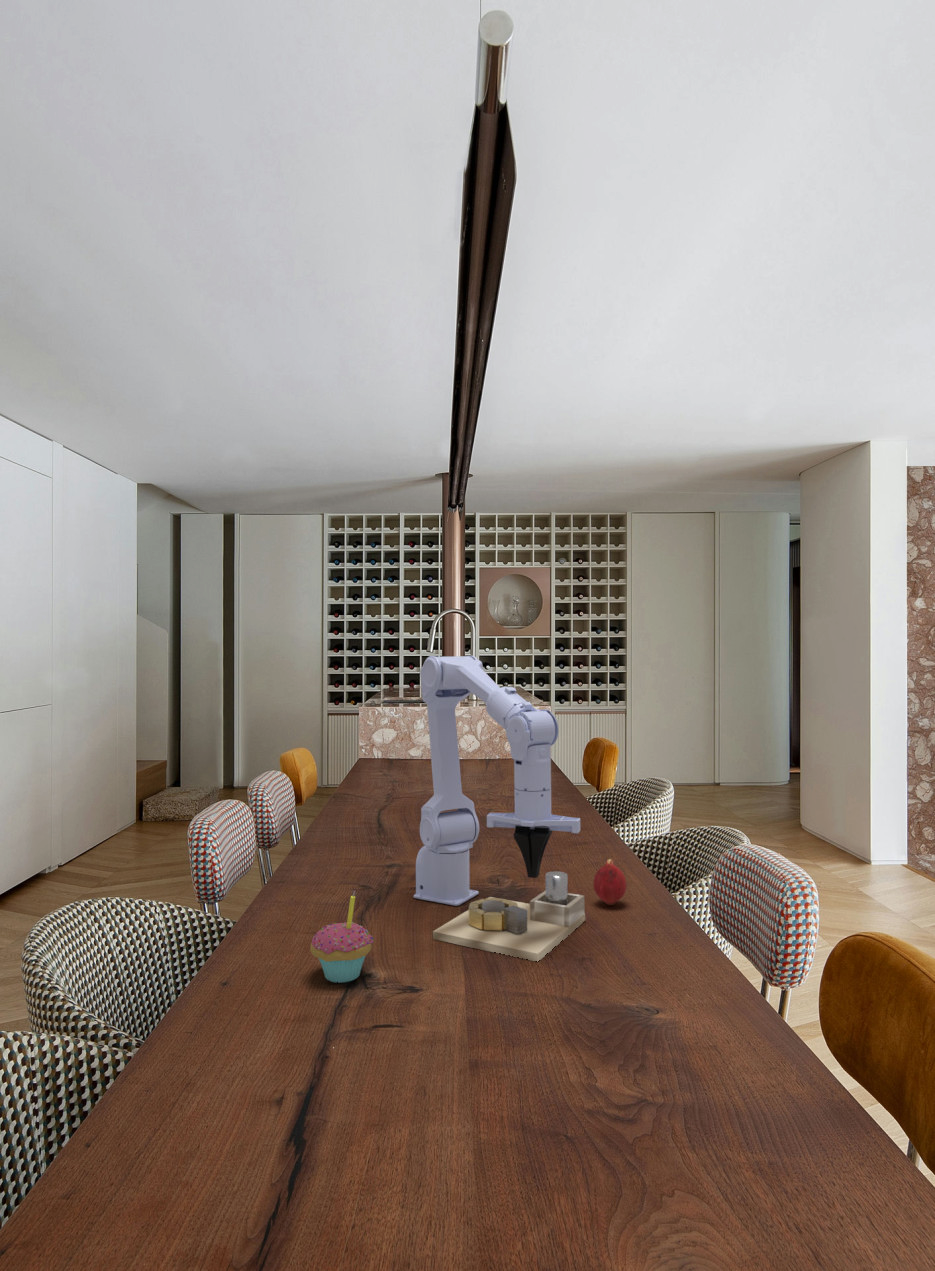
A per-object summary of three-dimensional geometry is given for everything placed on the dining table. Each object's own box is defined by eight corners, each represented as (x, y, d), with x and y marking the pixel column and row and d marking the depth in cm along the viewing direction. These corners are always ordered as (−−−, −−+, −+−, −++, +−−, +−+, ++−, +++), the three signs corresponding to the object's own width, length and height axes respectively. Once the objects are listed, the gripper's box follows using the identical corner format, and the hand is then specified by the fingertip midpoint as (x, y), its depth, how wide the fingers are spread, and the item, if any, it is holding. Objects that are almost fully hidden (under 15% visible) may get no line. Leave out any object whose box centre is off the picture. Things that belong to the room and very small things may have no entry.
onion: (626, 911, 132) (626, 865, 132) (592, 909, 133) (592, 863, 133) (626, 900, 138) (626, 856, 138) (594, 898, 139) (593, 854, 139)
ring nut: (504, 938, 116) (504, 917, 116) (459, 920, 124) (459, 900, 124) (539, 926, 122) (539, 905, 122) (494, 909, 129) (493, 890, 129)
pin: (541, 917, 126) (540, 874, 126) (555, 911, 129) (555, 870, 129) (557, 922, 123) (557, 879, 124) (572, 917, 126) (572, 874, 126)
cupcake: (382, 967, 109) (382, 883, 110) (355, 993, 101) (354, 902, 102) (329, 960, 112) (329, 877, 112) (298, 984, 104) (298, 895, 104)
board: (432, 939, 120) (432, 912, 120) (489, 903, 136) (489, 879, 137) (538, 962, 111) (537, 932, 111) (585, 920, 128) (585, 895, 128)
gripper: (480, 790, 118) (481, 879, 118) (574, 795, 113) (575, 887, 113) (493, 782, 125) (494, 866, 124) (582, 787, 120) (583, 874, 120)
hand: (533, 876), depth 119 cm, fingers closed
